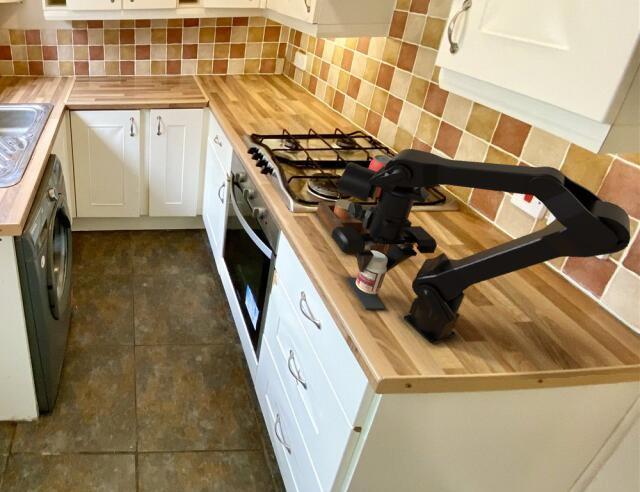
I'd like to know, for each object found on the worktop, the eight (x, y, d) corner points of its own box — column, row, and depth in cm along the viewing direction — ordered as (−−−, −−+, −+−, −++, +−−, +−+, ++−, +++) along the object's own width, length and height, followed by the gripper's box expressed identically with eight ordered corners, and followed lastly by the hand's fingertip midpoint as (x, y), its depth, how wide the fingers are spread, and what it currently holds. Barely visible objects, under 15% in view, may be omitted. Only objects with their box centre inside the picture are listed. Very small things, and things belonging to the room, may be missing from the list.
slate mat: (384, 309, 87) (384, 308, 87) (365, 309, 87) (365, 308, 87) (363, 278, 95) (363, 277, 95) (345, 278, 95) (346, 277, 95)
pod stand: (348, 213, 119) (352, 201, 117) (382, 254, 103) (387, 241, 101) (315, 213, 119) (318, 202, 117) (344, 254, 103) (348, 241, 101)
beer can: (383, 188, 131) (393, 155, 126) (388, 200, 125) (400, 165, 120) (360, 186, 132) (369, 152, 127) (365, 196, 127) (375, 162, 122)
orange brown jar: (354, 227, 113) (360, 208, 110) (339, 230, 112) (344, 211, 109) (341, 217, 117) (346, 198, 114) (326, 220, 116) (331, 200, 113)
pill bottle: (371, 278, 92) (381, 248, 89) (384, 294, 88) (395, 263, 85) (350, 278, 92) (359, 249, 89) (362, 294, 88) (372, 264, 84)
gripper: (413, 188, 89) (393, 246, 96) (327, 189, 89) (313, 246, 96) (450, 219, 79) (425, 281, 86) (353, 219, 79) (335, 281, 86)
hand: (372, 270), depth 88 cm, fingers closed on pill bottle, 5 cm apart
